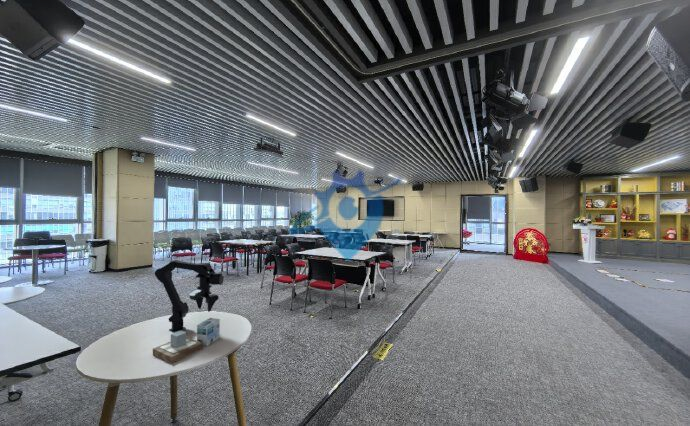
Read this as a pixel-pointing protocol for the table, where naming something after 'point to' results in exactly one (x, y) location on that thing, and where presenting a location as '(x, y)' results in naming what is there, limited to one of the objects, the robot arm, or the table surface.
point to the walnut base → (177, 350)
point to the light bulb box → (208, 331)
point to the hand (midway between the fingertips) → (204, 310)
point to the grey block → (178, 339)
